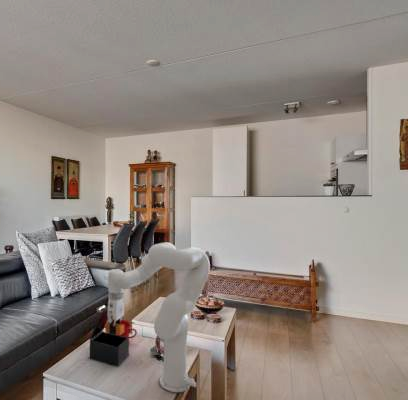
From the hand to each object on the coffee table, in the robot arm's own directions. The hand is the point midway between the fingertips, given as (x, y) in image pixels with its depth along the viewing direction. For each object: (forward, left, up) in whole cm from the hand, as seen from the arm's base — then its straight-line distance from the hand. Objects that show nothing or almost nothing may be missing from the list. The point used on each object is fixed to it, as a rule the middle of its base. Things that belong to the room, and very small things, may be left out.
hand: (115, 331), depth 154 cm
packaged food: (-20, -15, -14) cm, 29 cm away
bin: (+3, 0, -14) cm, 14 cm away
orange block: (0, 0, 0) cm, 0 cm away
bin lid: (+7, 0, +3) cm, 8 cm away
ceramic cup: (+4, -17, -14) cm, 22 cm away
